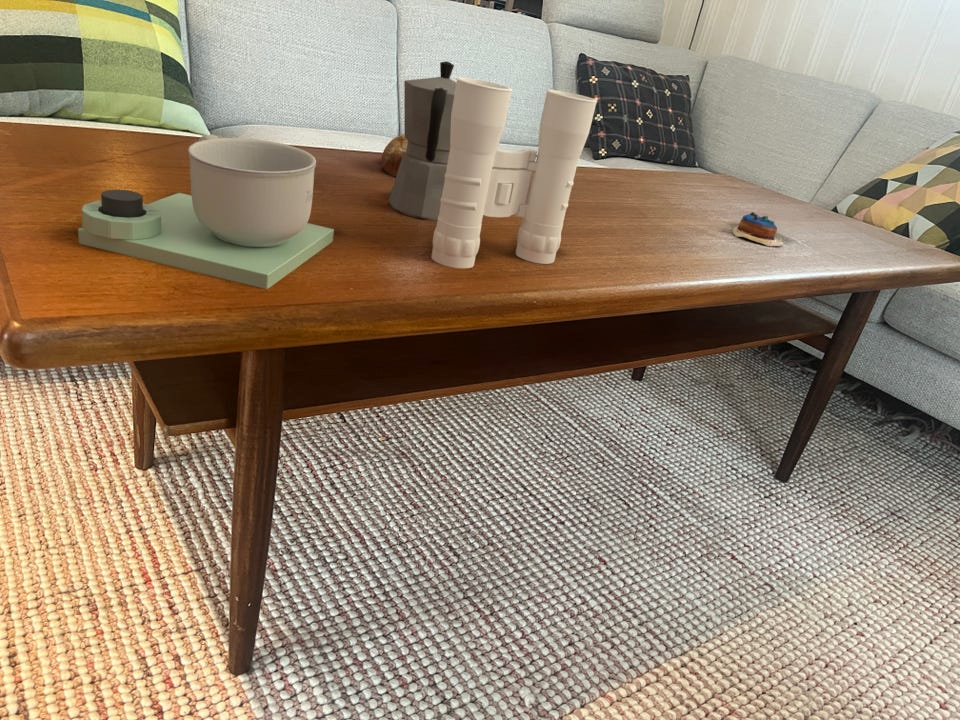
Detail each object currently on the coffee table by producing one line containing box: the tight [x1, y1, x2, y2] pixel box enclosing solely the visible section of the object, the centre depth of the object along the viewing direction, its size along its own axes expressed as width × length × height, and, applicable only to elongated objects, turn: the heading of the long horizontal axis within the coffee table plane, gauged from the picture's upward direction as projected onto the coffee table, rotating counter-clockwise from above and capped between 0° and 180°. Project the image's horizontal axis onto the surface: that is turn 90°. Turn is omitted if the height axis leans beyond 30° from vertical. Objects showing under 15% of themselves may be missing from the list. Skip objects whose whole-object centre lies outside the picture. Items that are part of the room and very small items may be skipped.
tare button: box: [100, 189, 144, 218], centre depth 63 cm, size 3×3×2 cm
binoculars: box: [431, 77, 598, 269], centre depth 77 cm, size 17×5×18 cm, turn 127°
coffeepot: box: [388, 61, 457, 222], centre depth 89 cm, size 15×9×18 cm, turn 179°
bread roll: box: [381, 133, 408, 177], centre depth 110 cm, size 10×10×8 cm
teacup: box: [187, 134, 317, 247], centre depth 67 cm, size 14×11×8 cm
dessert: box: [732, 211, 784, 247], centre depth 116 cm, size 8×7×6 cm
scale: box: [77, 192, 335, 290], centre depth 68 cm, size 18×16×3 cm
